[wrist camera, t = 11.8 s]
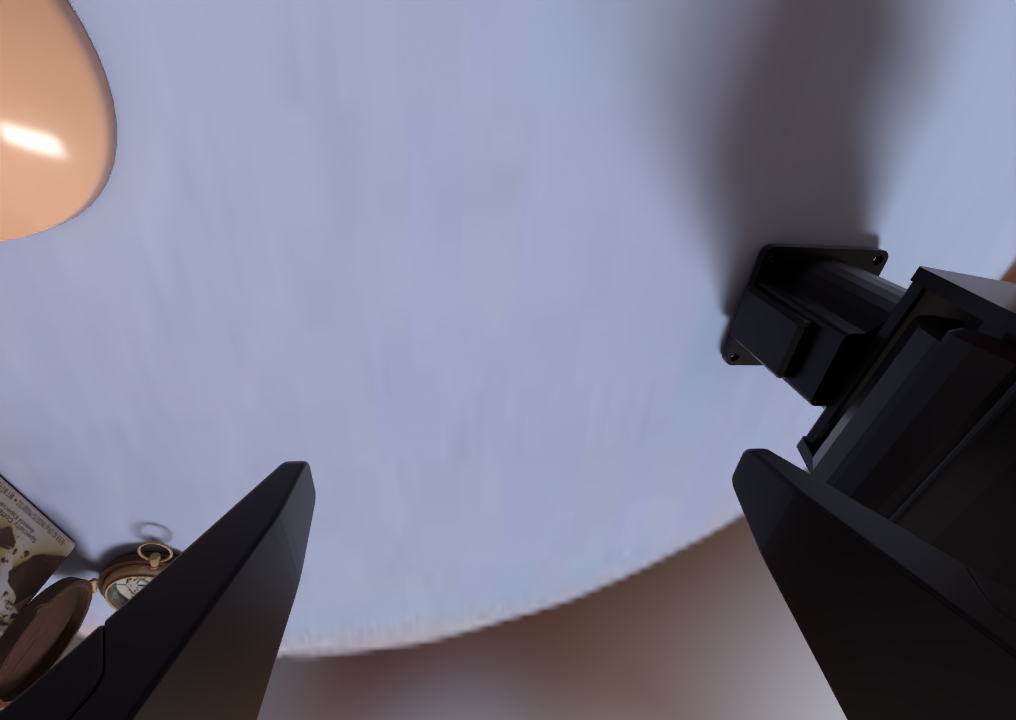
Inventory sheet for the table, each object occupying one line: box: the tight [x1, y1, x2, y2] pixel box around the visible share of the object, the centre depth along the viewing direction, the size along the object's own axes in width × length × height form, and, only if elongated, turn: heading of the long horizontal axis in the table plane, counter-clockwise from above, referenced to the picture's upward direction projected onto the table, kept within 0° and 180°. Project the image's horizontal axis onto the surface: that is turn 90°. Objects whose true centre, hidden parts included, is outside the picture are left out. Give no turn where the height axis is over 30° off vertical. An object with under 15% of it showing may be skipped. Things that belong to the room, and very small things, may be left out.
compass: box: [0, 541, 178, 709], centre depth 25 cm, size 8×8×7 cm
